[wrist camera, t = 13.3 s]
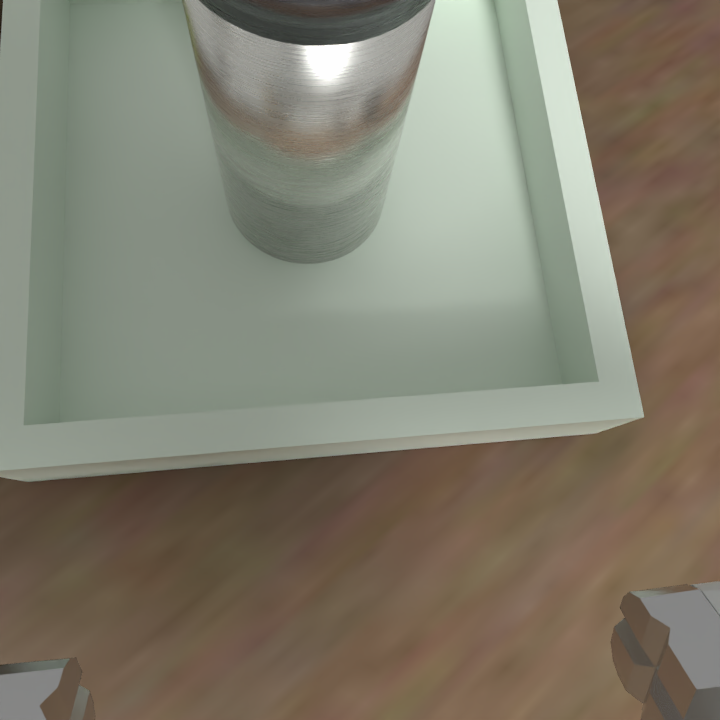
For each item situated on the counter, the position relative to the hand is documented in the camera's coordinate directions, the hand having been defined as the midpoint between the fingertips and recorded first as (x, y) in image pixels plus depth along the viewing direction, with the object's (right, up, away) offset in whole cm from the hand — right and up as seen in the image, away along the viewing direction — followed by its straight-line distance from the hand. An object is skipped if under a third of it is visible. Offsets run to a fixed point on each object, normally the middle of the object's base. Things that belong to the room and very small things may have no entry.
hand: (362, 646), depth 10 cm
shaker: (-2, +9, +10) cm, 14 cm away
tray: (-2, +9, +10) cm, 14 cm away
